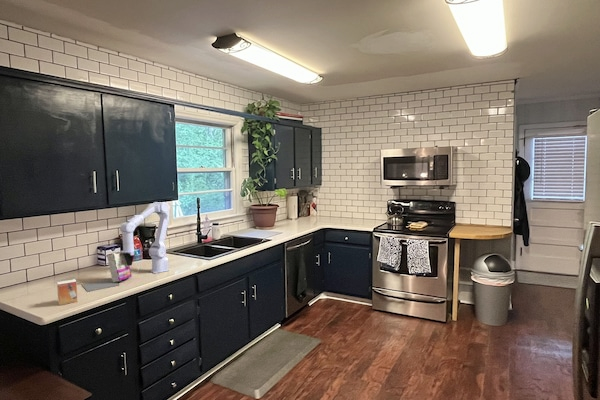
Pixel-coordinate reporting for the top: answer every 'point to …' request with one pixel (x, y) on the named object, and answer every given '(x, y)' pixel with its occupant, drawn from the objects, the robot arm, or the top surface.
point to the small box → (67, 292)
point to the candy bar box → (118, 266)
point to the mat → (99, 285)
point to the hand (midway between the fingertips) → (129, 265)
